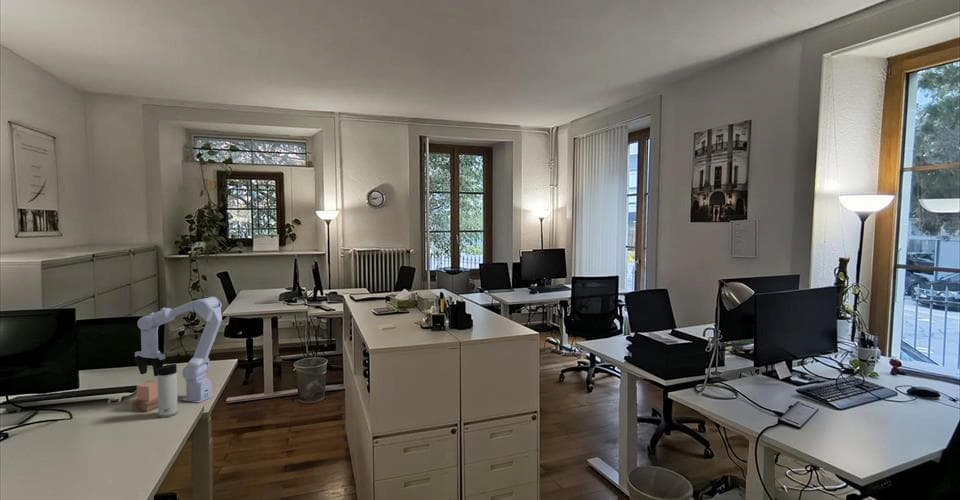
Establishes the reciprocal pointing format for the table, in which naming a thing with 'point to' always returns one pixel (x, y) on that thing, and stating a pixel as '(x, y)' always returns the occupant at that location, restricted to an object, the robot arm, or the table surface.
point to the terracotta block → (147, 391)
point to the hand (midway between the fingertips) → (150, 374)
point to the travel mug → (167, 391)
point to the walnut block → (145, 405)
